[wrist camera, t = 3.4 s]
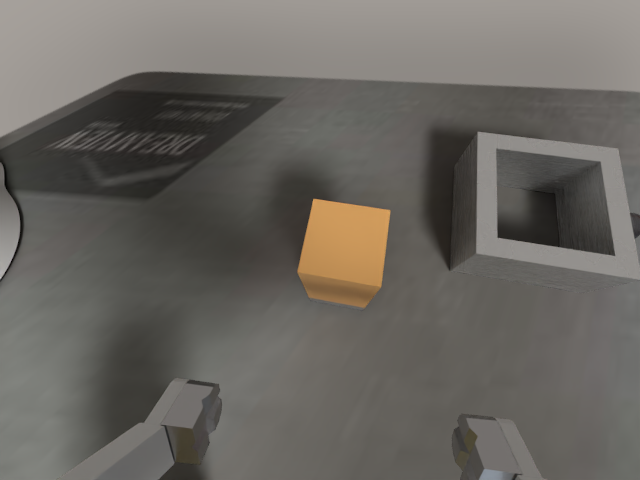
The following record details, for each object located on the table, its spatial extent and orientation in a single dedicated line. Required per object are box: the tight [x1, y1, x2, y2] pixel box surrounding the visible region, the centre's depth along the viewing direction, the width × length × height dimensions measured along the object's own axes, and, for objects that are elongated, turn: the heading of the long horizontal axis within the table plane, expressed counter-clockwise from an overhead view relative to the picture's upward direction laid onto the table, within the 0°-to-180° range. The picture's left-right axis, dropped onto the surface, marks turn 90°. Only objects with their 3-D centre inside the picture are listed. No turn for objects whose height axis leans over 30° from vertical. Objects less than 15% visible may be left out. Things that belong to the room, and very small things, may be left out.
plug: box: [297, 199, 390, 311], centre depth 19 cm, size 4×4×9 cm
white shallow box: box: [450, 132, 640, 293], centre depth 22 cm, size 12×10×4 cm
